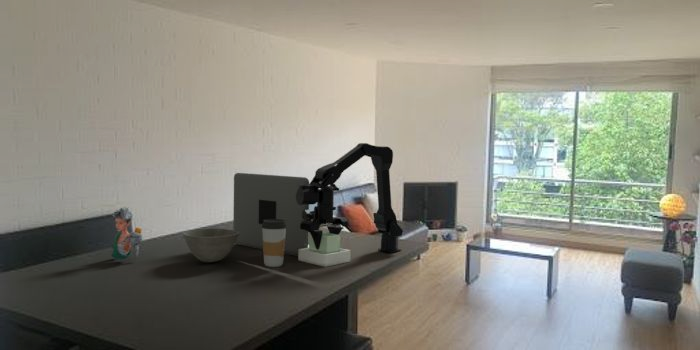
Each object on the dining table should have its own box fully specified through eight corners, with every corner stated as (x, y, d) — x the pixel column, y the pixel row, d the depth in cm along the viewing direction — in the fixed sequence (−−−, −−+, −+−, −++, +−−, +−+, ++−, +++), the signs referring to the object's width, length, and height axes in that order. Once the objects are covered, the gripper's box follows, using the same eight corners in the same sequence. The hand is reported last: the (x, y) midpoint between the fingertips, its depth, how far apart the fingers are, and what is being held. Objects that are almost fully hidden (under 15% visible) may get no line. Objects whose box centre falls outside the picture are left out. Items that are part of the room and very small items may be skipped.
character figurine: (99, 259, 183) (99, 207, 182) (116, 255, 191) (116, 204, 190) (128, 262, 180) (128, 209, 179) (144, 258, 188) (144, 206, 187)
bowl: (249, 261, 186) (250, 232, 186) (201, 269, 173) (202, 238, 172) (219, 253, 199) (219, 226, 198) (172, 260, 185) (172, 231, 185)
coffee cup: (281, 268, 177) (282, 222, 176) (257, 266, 178) (257, 221, 178) (289, 263, 185) (289, 219, 184) (266, 261, 187) (266, 218, 186)
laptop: (352, 247, 216) (354, 175, 214) (305, 259, 192) (307, 177, 190) (281, 236, 237) (282, 170, 236) (231, 246, 213) (232, 172, 212)
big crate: (323, 255, 198) (323, 244, 198) (350, 261, 189) (350, 250, 189) (298, 260, 189) (298, 249, 189) (325, 266, 180) (325, 255, 180)
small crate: (322, 248, 195) (322, 231, 194) (339, 251, 189) (340, 234, 188) (308, 250, 190) (309, 233, 190) (326, 254, 184) (327, 237, 184)
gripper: (327, 200, 201) (327, 241, 202) (289, 203, 187) (289, 248, 188) (349, 202, 193) (348, 245, 194) (311, 206, 179) (311, 252, 180)
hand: (324, 247), depth 189 cm, fingers closed on small crate, 6 cm apart
